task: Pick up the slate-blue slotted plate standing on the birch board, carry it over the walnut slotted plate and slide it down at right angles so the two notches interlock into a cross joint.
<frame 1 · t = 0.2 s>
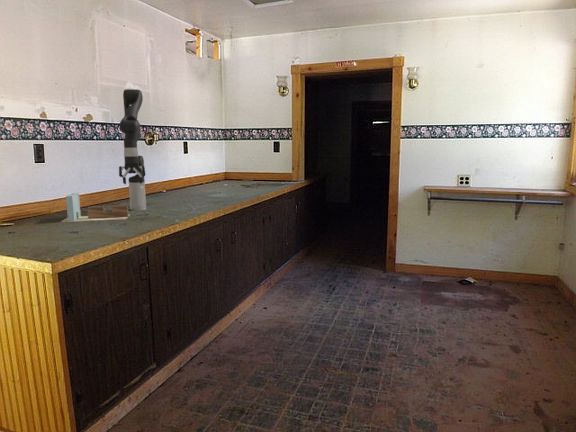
hand: (133, 184, 249), 17 cm above the counter, tool pointing down, fingers open, 8 cm apart
slotted cross plate: (74, 218, 229), point 1 cm above the counter, touching birch board
walnut slotted plate: (108, 217, 233), resting on birch board
birch board: (96, 219, 232), on the counter
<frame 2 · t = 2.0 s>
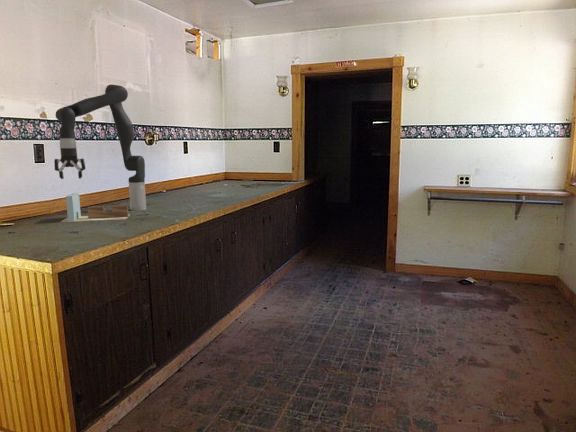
hand: (71, 178, 225), 22 cm above the counter, tool pointing down, fingers open, 8 cm apart
nothing on the counter moved.
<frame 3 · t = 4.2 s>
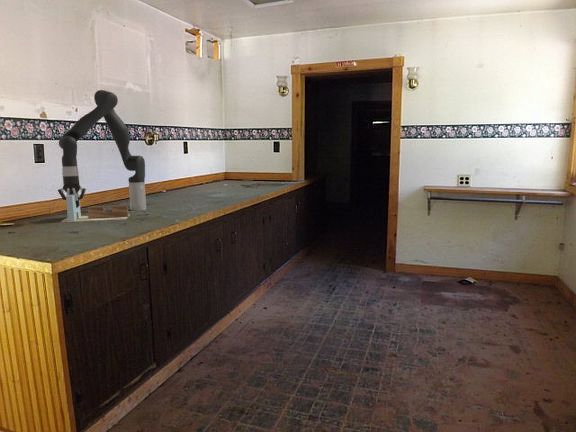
hand: (73, 207, 228), 7 cm above the counter, tool pointing down, fingers closed on slotted cross plate, 3 cm apart
slotted cross plate: (74, 218, 229), point 1 cm above the counter, touching gripper
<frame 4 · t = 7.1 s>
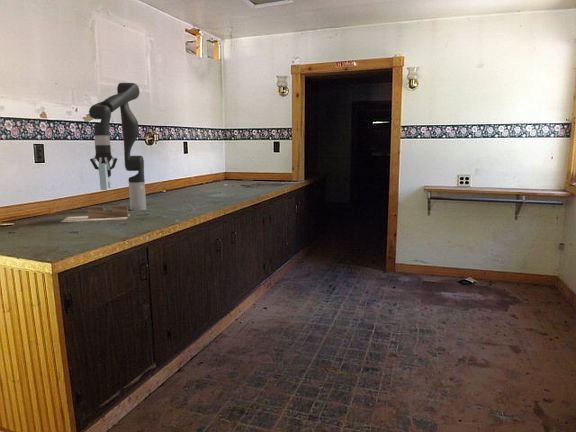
hand: (105, 177, 229), 23 cm above the counter, tool pointing down, fingers closed on slotted cross plate, 3 cm apart
slotted cross plate: (106, 188, 230), point 17 cm above the counter, touching gripper
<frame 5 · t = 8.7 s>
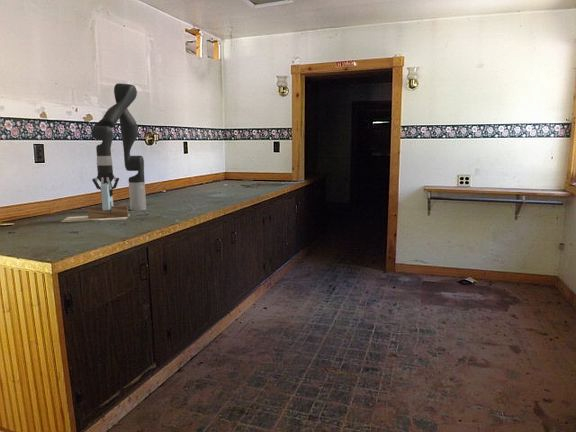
hand: (107, 196, 231), 12 cm above the counter, tool pointing down, fingers closed on slotted cross plate, 3 cm apart
slotted cross plate: (108, 207, 232), point 6 cm above the counter, touching gripper
when the fingers open (9 cm above the counter, at t = 10.1 s): slotted cross plate drops 1 cm, resting on birch board.
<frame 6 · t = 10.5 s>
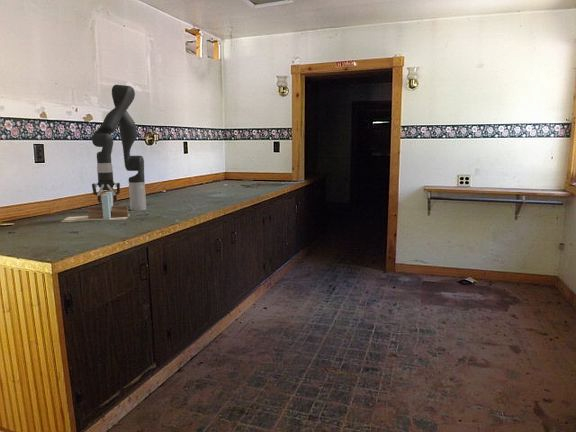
hand: (107, 202, 231), 9 cm above the counter, tool pointing down, fingers open, 6 cm apart
slotted cross plate: (108, 217, 233), point 1 cm above the counter, touching birch board
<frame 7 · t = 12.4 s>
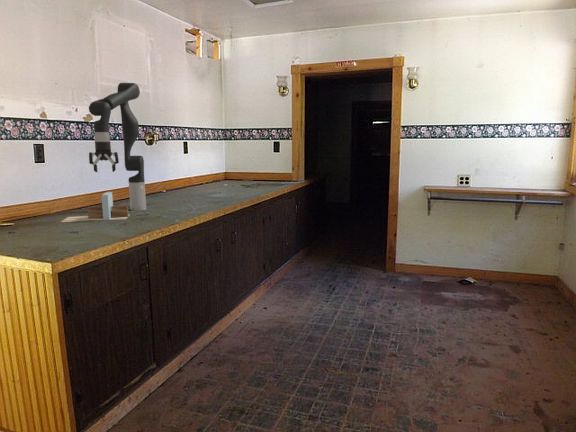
hand: (104, 171, 229), 26 cm above the counter, tool pointing down, fingers open, 8 cm apart
nothing on the counter moved.
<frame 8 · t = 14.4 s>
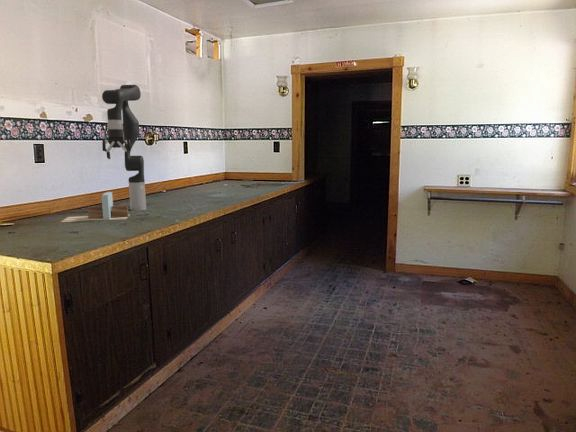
hand: (117, 159, 234), 32 cm above the counter, tool pointing down, fingers open, 8 cm apart
nothing on the counter moved.
at the end: slotted cross plate 0.0 cm off-centre on the walnut slotted plate, point 0.0 cm above the walnut slotted plate's base; slotted cross plate tilted 0°; the gripper is holding nothing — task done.
